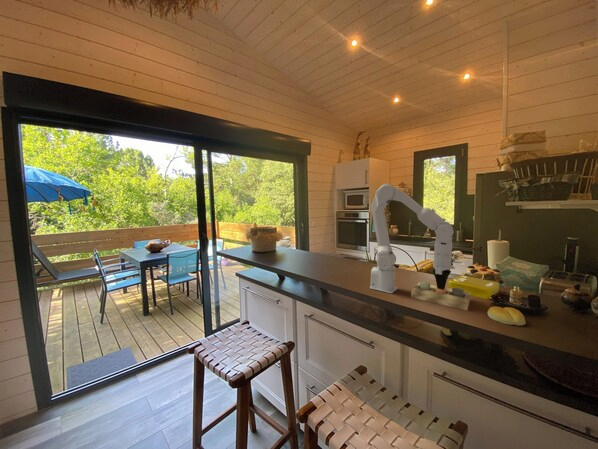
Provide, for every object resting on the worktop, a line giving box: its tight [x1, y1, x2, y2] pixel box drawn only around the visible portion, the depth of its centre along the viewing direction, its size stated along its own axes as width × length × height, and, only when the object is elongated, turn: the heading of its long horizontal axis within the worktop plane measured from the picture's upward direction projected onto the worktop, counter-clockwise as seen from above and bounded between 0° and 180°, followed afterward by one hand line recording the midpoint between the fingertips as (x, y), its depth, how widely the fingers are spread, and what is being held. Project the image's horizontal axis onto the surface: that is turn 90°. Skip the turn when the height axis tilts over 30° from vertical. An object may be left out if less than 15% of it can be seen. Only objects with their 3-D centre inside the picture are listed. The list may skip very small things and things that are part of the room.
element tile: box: [447, 274, 500, 300], centre depth 103 cm, size 15×15×5 cm
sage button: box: [419, 281, 431, 291], centre depth 96 cm, size 4×4×4 cm
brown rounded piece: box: [435, 287, 446, 294], centre depth 93 cm, size 4×4×4 cm
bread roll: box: [487, 305, 527, 327], centre depth 76 cm, size 8×9×4 cm
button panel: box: [410, 282, 471, 311], centre depth 93 cm, size 18×12×3 cm, turn 51°
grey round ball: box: [452, 288, 464, 297], centre depth 89 cm, size 4×4×4 cm
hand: (440, 288), depth 93 cm, fingers closed, pressing on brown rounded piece
